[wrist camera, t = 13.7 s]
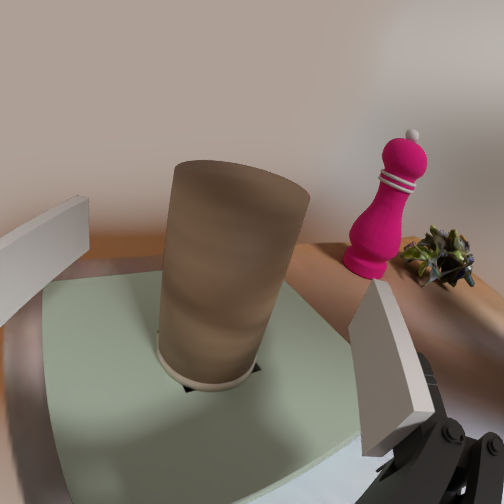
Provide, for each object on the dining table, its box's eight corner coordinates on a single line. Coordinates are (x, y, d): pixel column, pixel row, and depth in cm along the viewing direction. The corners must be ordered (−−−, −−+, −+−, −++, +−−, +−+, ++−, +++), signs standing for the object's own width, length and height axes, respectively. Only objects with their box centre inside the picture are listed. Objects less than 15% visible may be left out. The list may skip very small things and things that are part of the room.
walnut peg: (217, 347, 20) (262, 164, 14) (257, 406, 16) (341, 208, 11) (145, 363, 17) (156, 156, 11) (176, 433, 14) (206, 206, 8)
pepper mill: (330, 261, 38) (380, 114, 29) (350, 249, 43) (394, 124, 34) (376, 288, 34) (437, 136, 25) (390, 272, 40) (442, 144, 30)
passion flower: (426, 307, 44) (484, 280, 36) (408, 315, 37) (481, 282, 29) (405, 249, 48) (460, 219, 40) (383, 243, 41) (450, 206, 33)
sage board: (252, 295, 28) (263, 259, 26) (369, 426, 17) (400, 395, 15) (53, 324, 18) (43, 282, 16) (107, 543, 7) (87, 539, 5)
